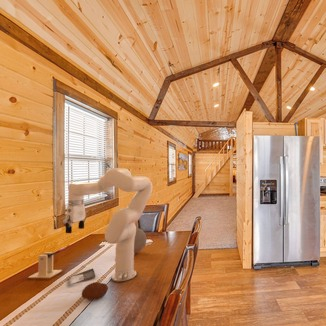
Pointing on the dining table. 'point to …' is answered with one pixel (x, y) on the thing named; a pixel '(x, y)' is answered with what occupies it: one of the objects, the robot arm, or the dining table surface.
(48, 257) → the lever
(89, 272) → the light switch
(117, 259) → the robot arm
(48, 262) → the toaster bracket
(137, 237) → the planter
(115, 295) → the dining table surface
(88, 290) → the potato
